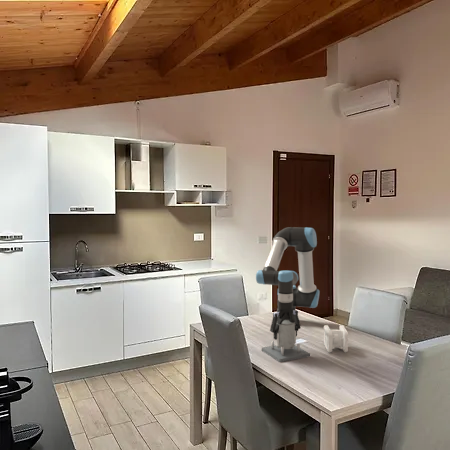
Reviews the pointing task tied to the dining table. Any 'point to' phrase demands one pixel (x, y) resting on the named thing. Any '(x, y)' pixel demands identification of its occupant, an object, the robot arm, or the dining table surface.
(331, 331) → the cable organizer
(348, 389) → the dining table surface
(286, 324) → the gray cylinder
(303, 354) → the pin tray
